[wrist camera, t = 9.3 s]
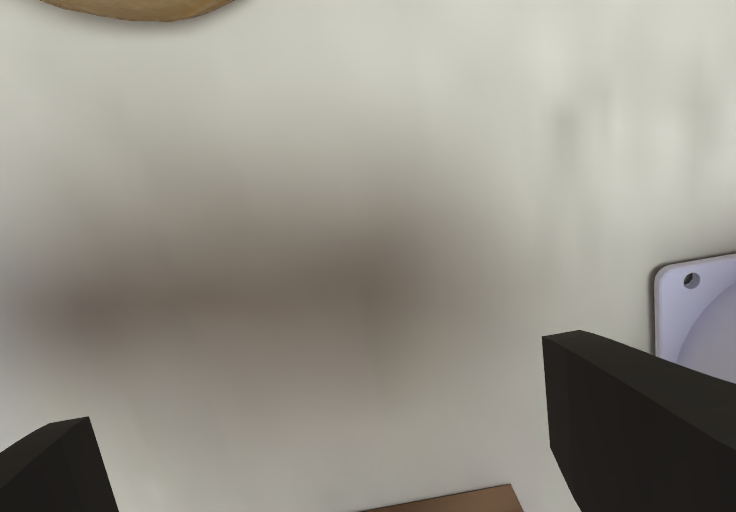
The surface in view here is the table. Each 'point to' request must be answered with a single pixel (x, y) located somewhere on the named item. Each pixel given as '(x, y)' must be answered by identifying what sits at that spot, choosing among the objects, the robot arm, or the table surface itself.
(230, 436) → the table surface
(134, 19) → the bread roll
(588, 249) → the table surface
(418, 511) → the dock plate
